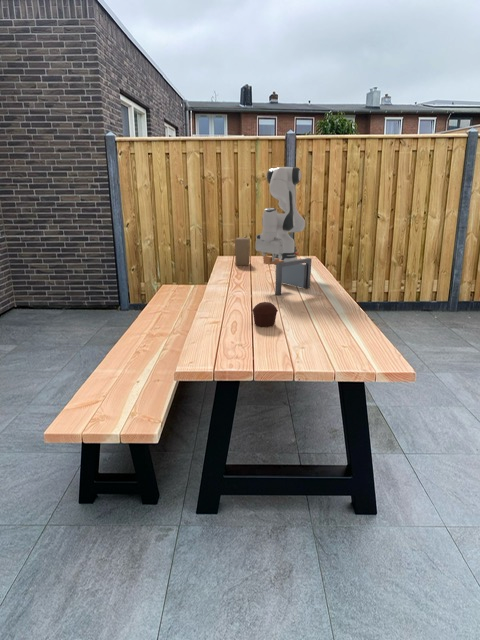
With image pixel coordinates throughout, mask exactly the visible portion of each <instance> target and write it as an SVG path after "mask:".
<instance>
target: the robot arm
mask: <svg viewBox="0 0 480 640" xmlns="http://www.w3.org/2000/svg"><path fill="white" fill-rule="evenodd" d="M301 179H302V172H301V169H300V168H299V167H297V166H293V167H292V166H281V167H272V168H269V169H268V171H267V173H266V181H267V183H268V184H269V193H270V195H271V196H272V198H274V199H275V200H278V207H279V208H280V209H281V211H283V213H282V212H281V213H278V210H277V208H274V207H267V208H264V210H263V213H262V218H261V220H262V221H261V226H262V231H261V233H259V234H257V235H256V236H255V239H256V240H255V245H254V246H255V251H256V252H261V254H262V256H263V257H262V259H263V260H264V257H265V256H267V255H266V254H271V257H272V256H273V257H272V258H271V261H275V257H276V255H278V256H277V257H278V259H279V260H284V261H293V260H299V259H298V257H297V258H296V255H297V256H299V252H298V251H297V252H294V246H295V247H296V243H295V240H294V238H292V237H291V235H290V234H288V232H291V233H299V232H302V231H304V229H305V228H306V221H305V218H304V217H303V216H301V215H300V213H299V211H298V208H297V205H296V185H298V184H299V183H300V182H301ZM289 235H290V236H289ZM274 271H275V273H276V268H275V270H274Z"/></svg>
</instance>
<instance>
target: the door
mask: <svg viewBox="0 0 480 640" xmlns="http://www.w3.org/2000/svg"><path fill="white" fill-rule="evenodd" d="M284 262H287V261H284ZM305 264H306V263H302V264H296V265H290V266H285V267H282V284H284V285H289V286H293V287H296V288H301V289H305V288H306V272H307V265H305Z"/></svg>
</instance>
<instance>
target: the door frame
mask: <svg viewBox="0 0 480 640" xmlns="http://www.w3.org/2000/svg"><path fill="white" fill-rule="evenodd" d="M296 264H305V265H307V272H306V290H309V289H311V275H312V273H311V272H312V258H309V257H307V258H305V257H304V258H301V259H298V260H293V261H287V262H281V263H276V264H275V269H276V270H275V271H276V272H275V286H274V287H275V291H274V292H275V294H274V295H275V296H281V295H282V285H283V283H282V267H285V266H290V265H296Z"/></svg>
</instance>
